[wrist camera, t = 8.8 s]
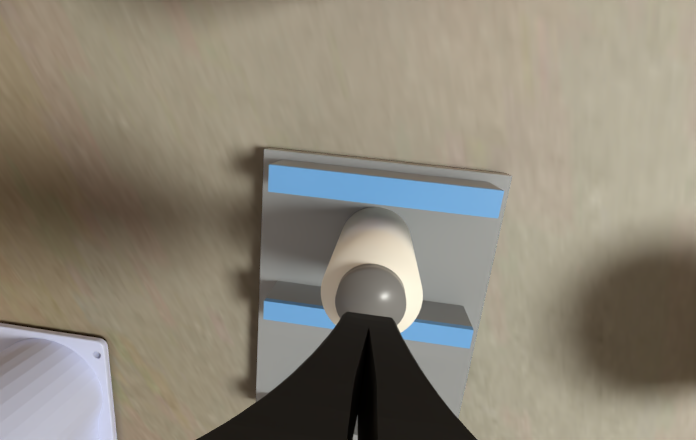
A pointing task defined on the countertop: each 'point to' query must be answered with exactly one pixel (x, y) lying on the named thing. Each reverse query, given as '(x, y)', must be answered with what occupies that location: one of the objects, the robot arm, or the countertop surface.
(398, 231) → the grey-capped cream cylinder
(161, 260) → the countertop surface
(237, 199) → the countertop surface
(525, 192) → the countertop surface
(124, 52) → the countertop surface
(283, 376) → the grey and blue rack
